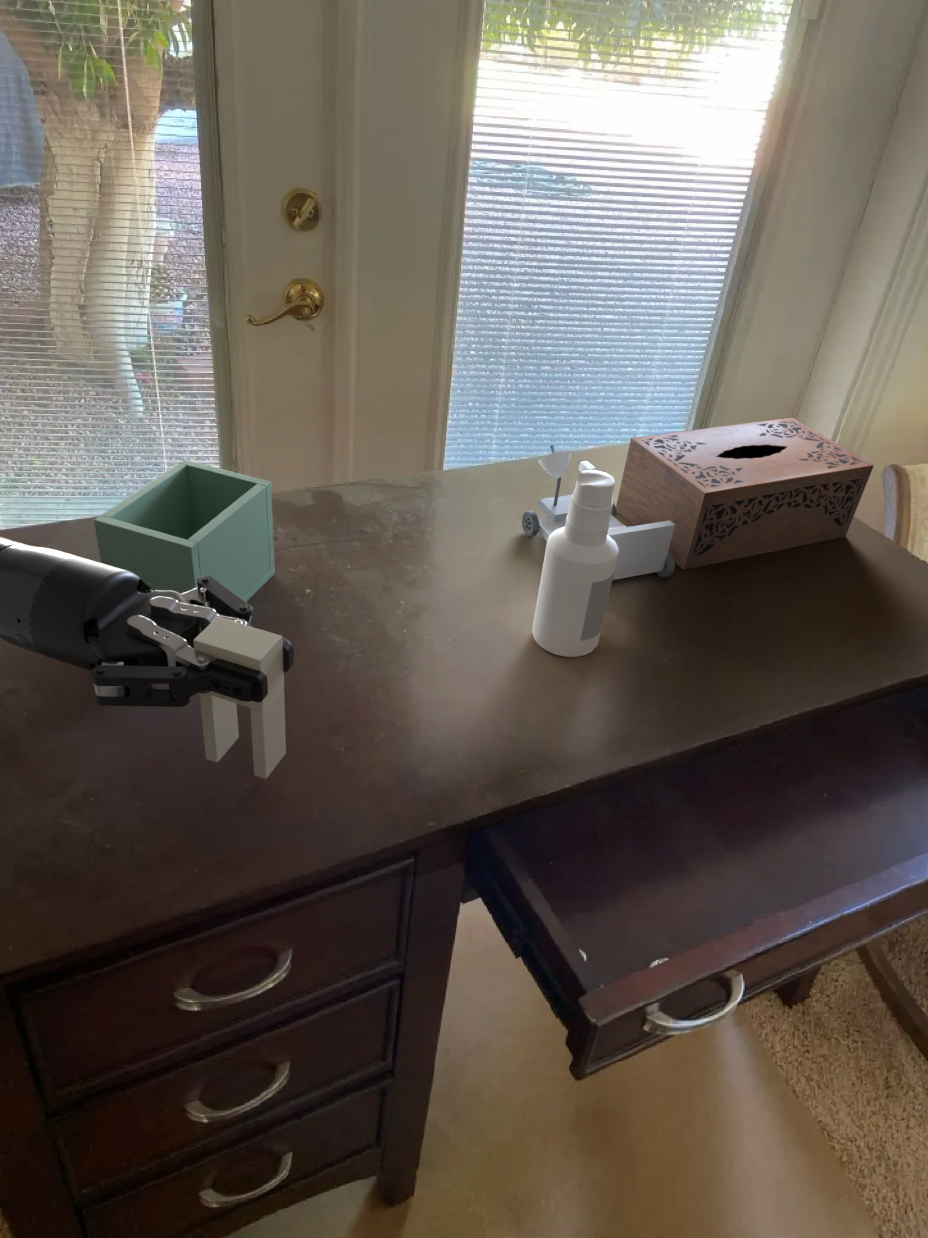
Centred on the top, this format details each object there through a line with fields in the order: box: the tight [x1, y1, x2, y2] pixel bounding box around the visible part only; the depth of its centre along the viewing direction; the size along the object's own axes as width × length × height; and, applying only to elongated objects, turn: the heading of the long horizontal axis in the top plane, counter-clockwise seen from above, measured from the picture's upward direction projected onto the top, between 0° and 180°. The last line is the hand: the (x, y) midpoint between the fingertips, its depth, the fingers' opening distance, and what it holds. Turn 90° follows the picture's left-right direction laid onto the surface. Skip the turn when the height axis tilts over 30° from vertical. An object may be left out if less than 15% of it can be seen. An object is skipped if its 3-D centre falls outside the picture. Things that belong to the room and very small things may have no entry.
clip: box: [193, 617, 287, 780], centre depth 63 cm, size 5×3×11 cm, turn 71°
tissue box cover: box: [615, 416, 875, 571], centre depth 110 cm, size 26×14×10 cm, turn 115°
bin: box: [93, 458, 276, 633], centre depth 87 cm, size 14×10×11 cm
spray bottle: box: [531, 469, 619, 658], centre depth 85 cm, size 7×7×18 cm
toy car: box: [521, 444, 676, 581], centre depth 102 cm, size 18×10×12 cm
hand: (277, 672), depth 60 cm, fingers closed on clip, 3 cm apart
